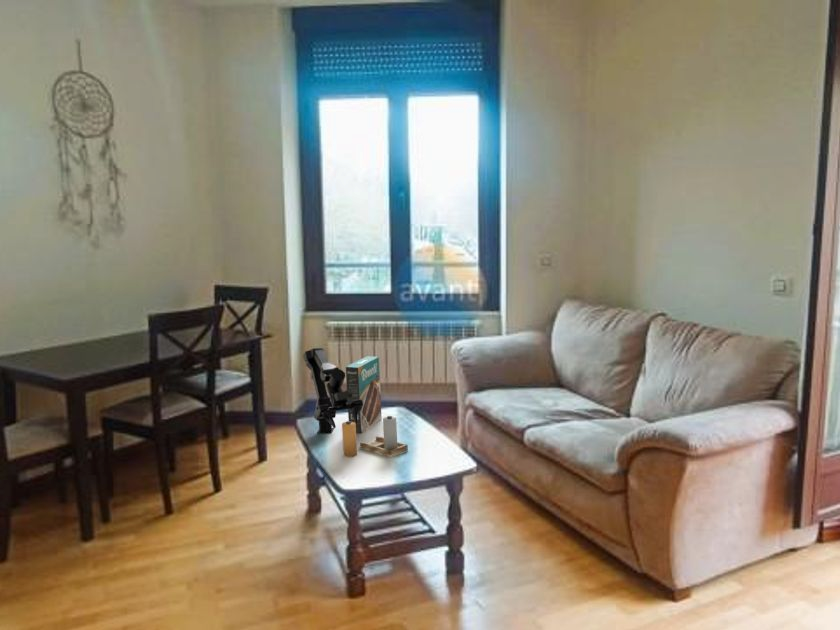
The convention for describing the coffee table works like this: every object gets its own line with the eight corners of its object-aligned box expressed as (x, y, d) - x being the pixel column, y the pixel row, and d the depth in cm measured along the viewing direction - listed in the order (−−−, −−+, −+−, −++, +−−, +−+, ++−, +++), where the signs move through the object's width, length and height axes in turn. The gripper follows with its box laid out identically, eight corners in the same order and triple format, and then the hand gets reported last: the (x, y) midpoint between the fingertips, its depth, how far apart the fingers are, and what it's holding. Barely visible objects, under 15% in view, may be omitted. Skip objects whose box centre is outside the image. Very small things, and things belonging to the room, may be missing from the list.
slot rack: (359, 448, 283) (359, 442, 282) (377, 441, 290) (377, 435, 290) (390, 457, 271) (390, 451, 270) (407, 450, 278) (407, 444, 277)
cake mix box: (361, 433, 301) (358, 367, 296) (349, 432, 303) (345, 366, 298) (381, 418, 321) (378, 356, 316) (370, 417, 323) (367, 356, 318)
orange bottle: (345, 452, 279) (343, 419, 276) (358, 452, 278) (356, 419, 276) (342, 456, 273) (340, 423, 271) (355, 456, 273) (354, 423, 271)
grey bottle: (385, 446, 280) (383, 414, 278) (398, 446, 280) (396, 414, 277) (383, 451, 275) (381, 418, 273) (396, 451, 274) (395, 418, 272)
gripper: (317, 386, 276) (327, 419, 267) (360, 380, 284) (371, 412, 275) (313, 400, 284) (322, 433, 276) (355, 394, 292) (365, 425, 283)
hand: (345, 425), depth 277 cm, fingers open, 9 cm apart
